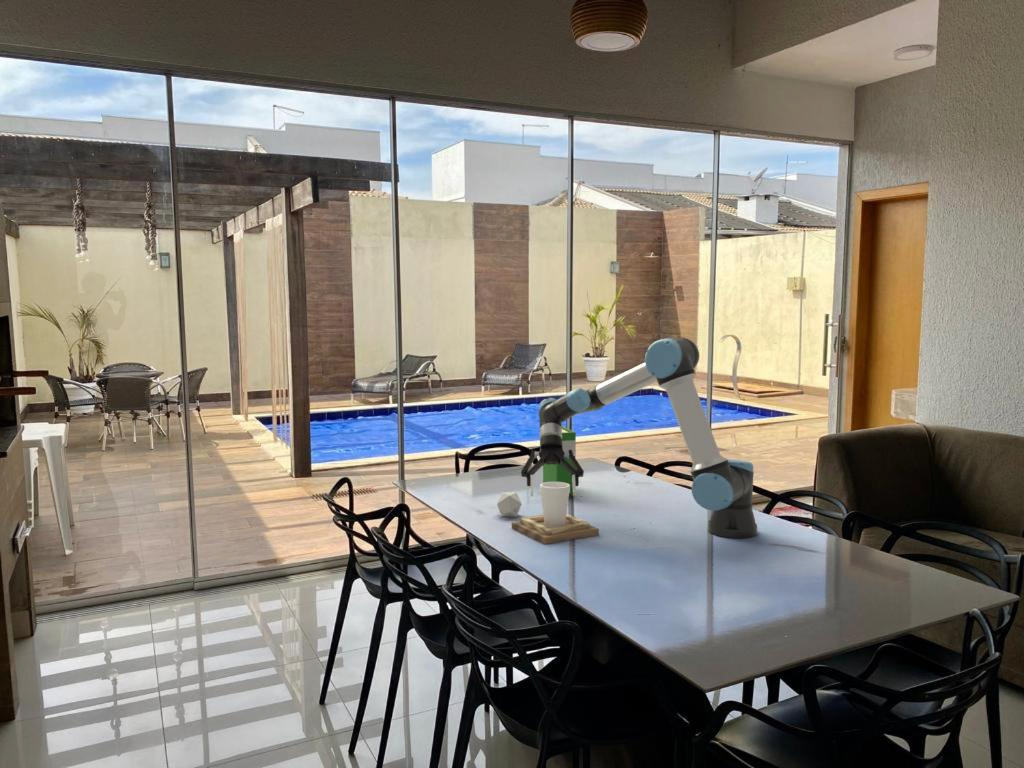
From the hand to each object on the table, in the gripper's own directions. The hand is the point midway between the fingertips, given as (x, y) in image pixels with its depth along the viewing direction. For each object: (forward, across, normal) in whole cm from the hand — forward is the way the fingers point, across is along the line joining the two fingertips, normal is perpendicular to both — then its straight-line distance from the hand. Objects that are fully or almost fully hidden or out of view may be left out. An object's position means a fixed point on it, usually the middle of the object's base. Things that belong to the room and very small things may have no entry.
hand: (553, 494), depth 256 cm
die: (-4, +14, -20) cm, 25 cm away
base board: (+10, 0, -6) cm, 12 cm away
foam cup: (+8, 0, -5) cm, 10 cm away
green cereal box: (-30, -5, -47) cm, 56 cm away
